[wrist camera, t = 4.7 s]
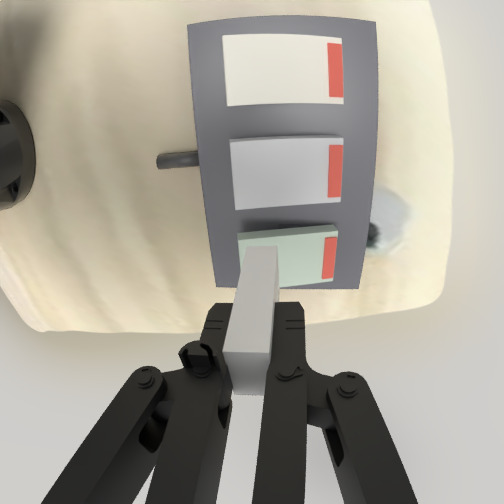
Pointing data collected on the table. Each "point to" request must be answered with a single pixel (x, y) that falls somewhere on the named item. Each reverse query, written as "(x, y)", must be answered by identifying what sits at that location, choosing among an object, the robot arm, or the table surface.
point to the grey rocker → (286, 170)
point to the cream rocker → (282, 69)
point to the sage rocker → (297, 252)
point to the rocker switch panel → (284, 124)
